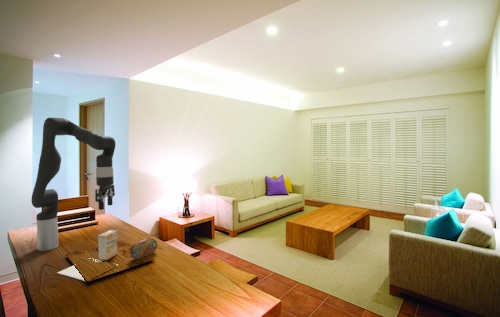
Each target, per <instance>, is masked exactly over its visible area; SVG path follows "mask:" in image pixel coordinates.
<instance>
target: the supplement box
mask: <svg viewBox="0 0 500 317" xmlns="http://www.w3.org/2000/svg"><path fill="white" fill-rule="evenodd" d="M97 240H98V242H97V244H98V260H100V261H104V260H107V261H108V260H110V259H112V258H114V257H115V256H117V255H118V230H113V229H109V230H107V231H105V232H103V233H100V234H98V235H97Z"/></svg>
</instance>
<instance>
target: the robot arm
mask: <svg viewBox="0 0 500 317" xmlns="http://www.w3.org/2000/svg"><path fill="white" fill-rule="evenodd" d="M42 126H43V127H42V128H43V129H42V143H41V153H40V157H39V162H38V168H37V169H38V170H37V176H36V179H35V184H34V187H33V190H32V195H31V204H32V206H33V208H36V209H39V208H44V209H43V210H41V211H40V212H38V213H37V214H36V216H35V218H36V244H37V245H36V246H37V251H39V252H46V251H51V250H55V249H56V248H58V247H59V228H58V214H59V195H58V192H57V190H56V189H53V188H51V189H47V187H48V185H49V184H50V182H51V181H52V180H53V179H54V178H55V176H57V174H58V173H59V171H60V168H61V164H62V157H61V154H60V152H59V150H58V149H57V147H56V137H57V136H72V137H74V138H75V139H76V140H77V141H79V142H80V143H83V144H84V145H88V146H89V147H90V148H92V149H94V150H97V151H102V153H101V154H99V155H97V156H96V159H95V161H96V164H95V165H96V169H95V178H96V179H95V180H96V181H95V182H96V186H97V187H98V189H97V188H96V189H95V193H94V194H95V195H94V196H95V197H94V199H95V200H94V201H95V203H97V202H98V203H97V204H98V210H99V211H103V210H104V209H105V199H106V198H107V206H113V198H114V197H115V195H116V192H115V185H114V182H115V181H114V168H113V157H114V154H115V149H116V139H114V137H112V136H111V135H99V134H98V133H97V132H95V131H92V130H90V129H88V128H87V129H86V128H84V127H81V126H79V125H78V124H75V123H74V122H72V121H70V120H69V119H67V118H64V117H47V118H46V119H45V120H44V123H43V125H42Z"/></svg>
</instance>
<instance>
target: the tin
mask: <svg viewBox="0 0 500 317" xmlns="http://www.w3.org/2000/svg"><path fill="white" fill-rule="evenodd" d="M157 246H158V242H157V240H156V239H155V238H150V237H148V238H144V239H142V240H140V241H137V242H134V243H132V245H131V246H130V248H129V256H130V257H131V258H132V259H134V260H136V259H138V258H140V257H143V256H145V257H147V256H150V255H153V254H154V253H155V251H156V250H157ZM143 258H144V257H143ZM138 260H139V259H138Z"/></svg>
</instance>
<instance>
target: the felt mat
mask: <svg viewBox="0 0 500 317" xmlns="http://www.w3.org/2000/svg"><path fill="white" fill-rule="evenodd" d="M91 258H92V257H91ZM91 258H90V257H89V258H88V259H91ZM92 259H93V261H94V259H95V258H92ZM96 260H97V261H96ZM102 261H103V260H99V259H95V262H98V263H99V262H102ZM115 264H116V263H115ZM74 265H75V264H74ZM74 265H72V266H69V267H67V268H64V269H62V270H60V271H58V272H56V274H58V275H61V276H64V277H65V276H66V277H69V278H73V279H76V280H78V281H79V280H80V281H82V282H86V281H85V280H84V278H83V277H82V275H81V274H80V273H79V271H78V270H77V269H76V268H75V266H74ZM116 265H117V267H119V266H118V265H119V264H116Z"/></svg>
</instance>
